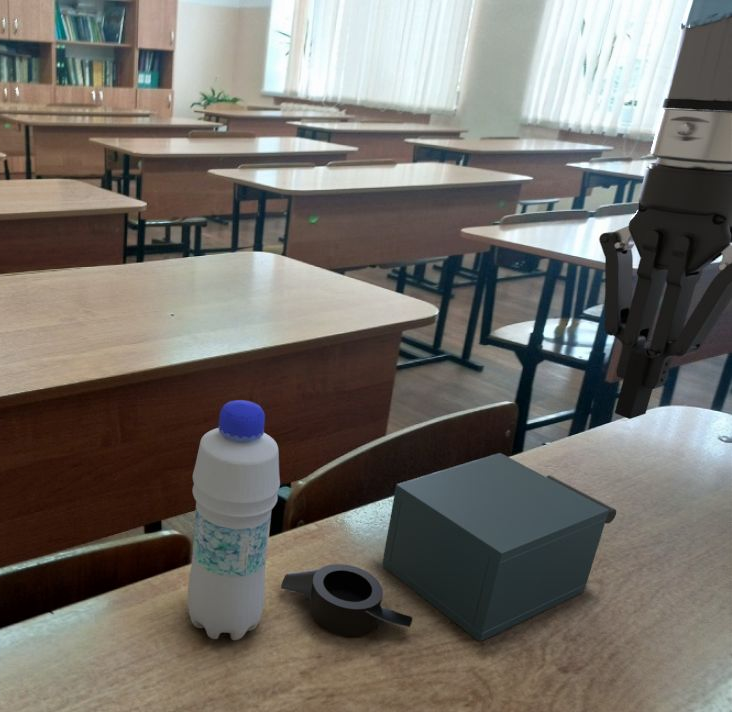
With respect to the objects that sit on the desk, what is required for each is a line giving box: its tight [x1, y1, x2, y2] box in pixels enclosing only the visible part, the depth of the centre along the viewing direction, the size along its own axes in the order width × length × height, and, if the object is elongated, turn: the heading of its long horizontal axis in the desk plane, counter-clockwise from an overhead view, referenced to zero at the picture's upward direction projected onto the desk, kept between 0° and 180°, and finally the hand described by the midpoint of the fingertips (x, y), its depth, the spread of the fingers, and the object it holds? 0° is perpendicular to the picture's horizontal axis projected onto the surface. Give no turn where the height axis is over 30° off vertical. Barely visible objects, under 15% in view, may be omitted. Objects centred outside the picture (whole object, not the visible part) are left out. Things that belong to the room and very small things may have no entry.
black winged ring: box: [280, 563, 413, 639], centre depth 62 cm, size 8×10×3 cm
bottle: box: [187, 399, 281, 641], centre depth 57 cm, size 7×7×20 cm
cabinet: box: [381, 452, 609, 643], centre depth 66 cm, size 14×11×9 cm
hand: (630, 413), depth 71 cm, fingers closed
